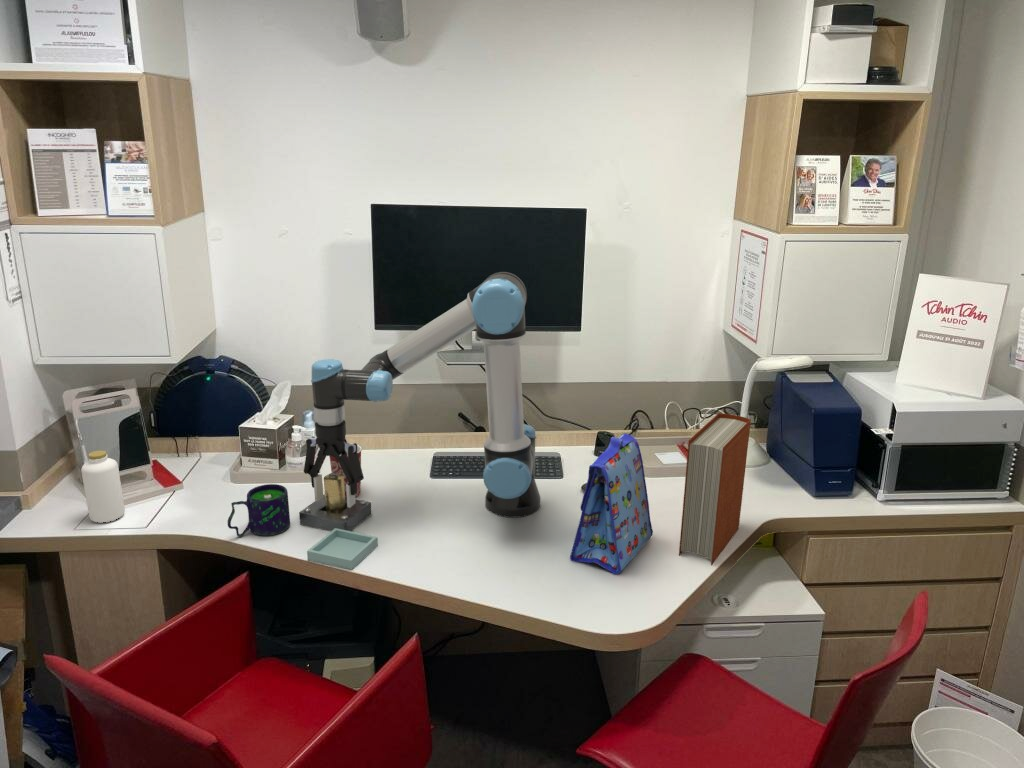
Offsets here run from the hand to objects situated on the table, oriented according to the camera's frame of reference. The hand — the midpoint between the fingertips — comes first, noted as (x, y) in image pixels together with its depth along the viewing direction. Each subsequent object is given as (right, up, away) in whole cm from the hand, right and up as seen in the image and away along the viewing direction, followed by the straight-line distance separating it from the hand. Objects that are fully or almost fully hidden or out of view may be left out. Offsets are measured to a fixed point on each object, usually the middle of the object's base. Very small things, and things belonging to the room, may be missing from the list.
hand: (335, 502), depth 201 cm
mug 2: (0, 0, +18) cm, 18 cm away
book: (+96, -9, -7) cm, 96 cm away
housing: (0, -5, +2) cm, 5 cm away
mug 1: (-18, -7, -4) cm, 20 cm away
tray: (+5, -10, -15) cm, 18 cm away
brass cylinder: (0, -5, +2) cm, 5 cm away
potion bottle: (-60, -4, +1) cm, 60 cm away
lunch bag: (+71, -10, -11) cm, 72 cm away
